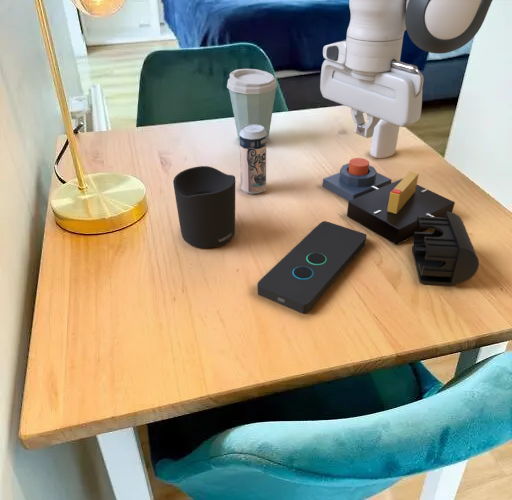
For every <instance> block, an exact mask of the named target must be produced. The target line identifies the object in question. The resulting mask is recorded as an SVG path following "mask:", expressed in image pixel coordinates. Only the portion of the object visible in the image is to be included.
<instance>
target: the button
mask: <svg viewBox="0 0 512 500" xmlns="http://www.w3.org/2000/svg"><path fill="white" fill-rule="evenodd" d="M348 163H349V170H348V172H349V173H350V174H352V175H358V176H360V175H366V174H368V169H369V165H370V161H369V160H368V159H367V158H361V157H354V158H351V159H349V161H348Z"/></svg>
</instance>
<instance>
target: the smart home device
mask: <svg viewBox="0 0 512 500" xmlns="http://www.w3.org/2000/svg"><path fill="white" fill-rule="evenodd" d="M367 237H368V235H367V234H366V233H364V232H361V231H358V230H355V229H352V228H348V227H345V226H343V225H339V224H337V223H333V222H330V221H327V220H323V221H321V222H320V223H318V224H317V225H316V226H315V227H314V228H313V229H312V230H311V231H310V232H309V233H308V234H307V235H306V236H305V237H303V239H301V240H300V241H299V242H298V243H297V244H296V245H295V246H294V247H293V248H292V249H291V250H290V251H289V252H288V253H287V254H286V255H285V256H283V258H282V259H280V261H278V262H277V263H276V264H275V265H274V266H273V267H272V268H271V269H270V270H269V271H267V273H266V274H265V275H264V276H263V277H262V278H261V279H259V280H258V282H257V295H258V296H261V297H262V298H265V299H268V300H270V301H272V302H275V303H277V304H280V305H281V306H284V307H287V308H289V309H291V310H293V311H296V312H298V313H301V314H307V313H308V312H309V311H311V309H312V308H313V307H315V305H316V304H317V302H318V301H319V300H320V299H321V298H322V296H323V295H324V294H325V293H326V292H327V291H328V290H329V288H330V287H331V286H332V285H333V284H334V283H335V281H336V280H337V279H338V278H339V277H340V276H341V275H342V273H343V272H344V271H345V270H346V268H348V266H349V265H350V264H351V263H352V262H353V261H354V260H355V258H357V256H358V255H359V254H360V252H361V251H363V249H364V248H365V247H366V244H367Z"/></svg>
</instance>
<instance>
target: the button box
mask: <svg viewBox="0 0 512 500" xmlns="http://www.w3.org/2000/svg"><path fill="white" fill-rule="evenodd" d="M348 170H349V162H348V163H346V164H343V165H341V167H340V169H339V172H337V173H334V174H332V175H329V176H327V177H324V178H323V179H322V188H324V189H326V190H327V191H330V192H331V193H333V194H335V195H337V196H339V197H341V198H342V199H344V200H345V201H350V200H353V199H355V198H357V197H360V196H362V195H365V194H367V193H369V192H372V191H374V190H377V189H375V188H373V187H372V186H375V187H377V188H381V187H384V186H386V185H388V184H391V183H392V178H391V177H387V176H385V175H383V174H381V173H379V172H378V171H377V170H376V168H375V167H374V166H373V165H370V164H369V169H368V174H366V175H360V176H358V175H352V174H350V173H349V172H348Z"/></svg>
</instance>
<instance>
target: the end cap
mask: <svg viewBox="0 0 512 500" xmlns="http://www.w3.org/2000/svg"><path fill="white" fill-rule="evenodd" d="M416 226H420V228H429V229H430V230H433V231H431V232H428V231H426V232H425V231H423V232H414V236H413V237H412V247H411V252H412V257H413V261H414V265H415V269H416V274H417V277H418V281H419V283H420V284H421V285H426V286H427V285H428V286H442V287H450V286H451V287H452V286H455V285H457V284H462V283H465V282H467V281H469V280H470V279H472V278H473V277H474V276H475V275H476V274H477V272H478V270H479V266H480V260H479V257H478V255H477V253H476V251H475V250H476V249H475V248H474V246H473V243H472V241H471V238H470V236H469V234H468V231H467V229H466V226H465V224H464V222H463V219H462V218H461V217H460V216H459V214H457V213H455V212H447V211H446V213H445V217H424V216H418V217H417V222H416ZM429 229H428V230H429Z"/></svg>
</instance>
